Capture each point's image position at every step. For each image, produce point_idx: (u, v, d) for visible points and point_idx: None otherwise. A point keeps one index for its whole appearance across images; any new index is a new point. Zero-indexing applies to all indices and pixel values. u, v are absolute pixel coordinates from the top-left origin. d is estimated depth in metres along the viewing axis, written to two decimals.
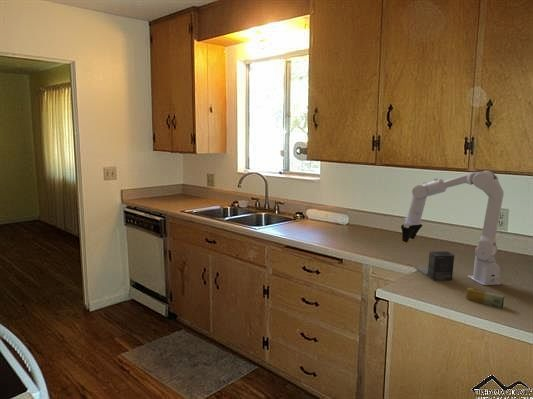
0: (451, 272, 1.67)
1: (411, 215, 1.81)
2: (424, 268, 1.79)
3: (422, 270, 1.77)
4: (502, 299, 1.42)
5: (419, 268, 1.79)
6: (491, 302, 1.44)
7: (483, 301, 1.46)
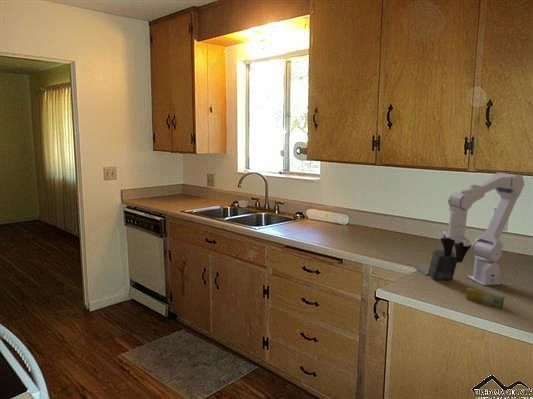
0: (452, 272, 1.66)
1: (459, 230, 1.55)
2: (424, 268, 1.79)
3: (422, 270, 1.77)
4: (502, 299, 1.42)
5: (419, 268, 1.79)
6: (491, 302, 1.44)
7: (483, 301, 1.46)
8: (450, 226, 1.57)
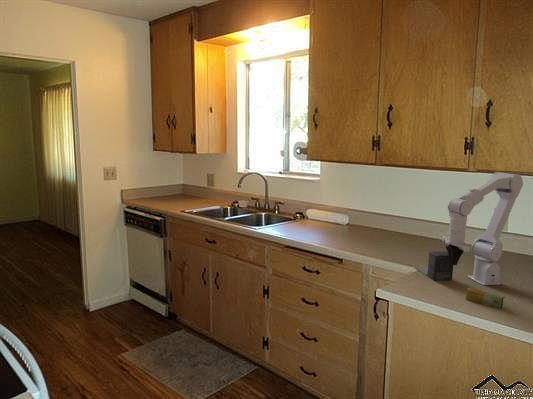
0: (451, 272, 1.67)
1: (459, 236, 1.56)
2: (424, 268, 1.79)
3: (422, 270, 1.77)
4: (501, 300, 1.41)
5: (419, 268, 1.79)
6: (491, 302, 1.44)
7: (482, 301, 1.45)
8: (450, 232, 1.58)
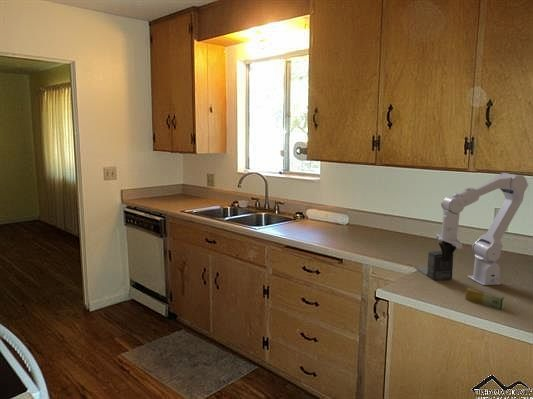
0: (450, 271, 1.67)
1: (452, 233, 1.60)
2: (424, 268, 1.79)
3: (422, 270, 1.77)
4: (501, 300, 1.41)
5: (419, 268, 1.79)
6: (490, 303, 1.43)
7: (482, 302, 1.45)
8: (443, 229, 1.62)
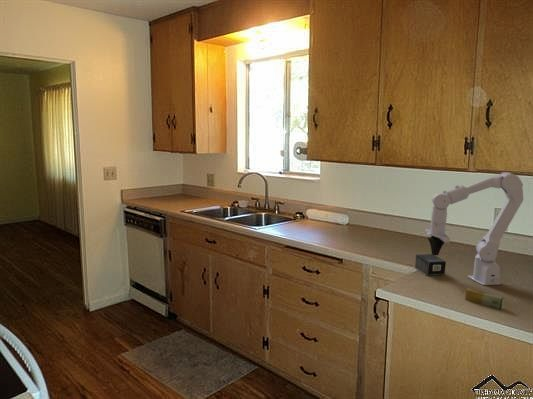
0: (439, 259, 1.75)
1: (440, 228, 1.68)
2: None
3: None
4: (500, 300, 1.41)
5: None
6: (490, 303, 1.43)
7: (482, 302, 1.45)
8: (432, 224, 1.70)
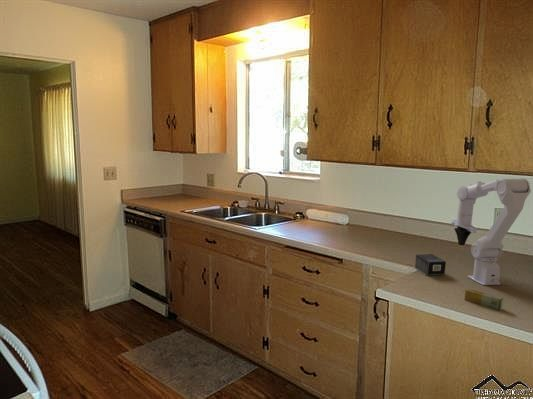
0: (439, 259, 1.75)
1: (467, 219, 1.77)
2: None
3: None
4: (499, 301, 1.40)
5: None
6: (489, 304, 1.43)
7: (481, 302, 1.45)
8: (459, 216, 1.79)
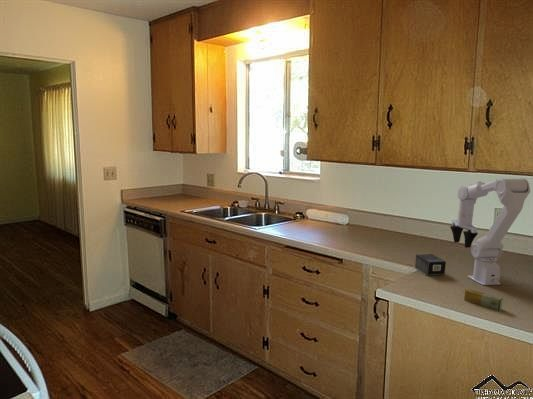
0: (439, 259, 1.75)
1: (467, 219, 1.77)
2: None
3: None
4: (499, 301, 1.40)
5: None
6: (488, 304, 1.42)
7: (480, 303, 1.44)
8: (459, 215, 1.79)
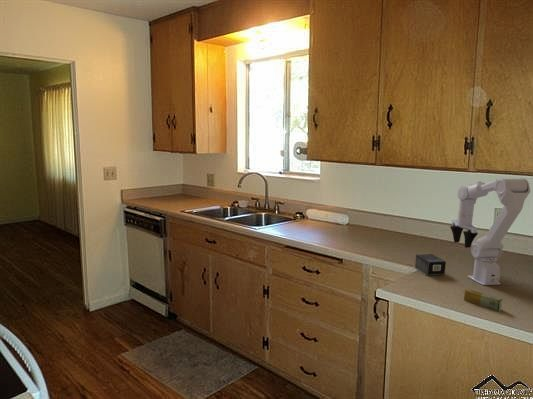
0: (439, 259, 1.75)
1: (467, 219, 1.77)
2: None
3: None
4: (498, 302, 1.40)
5: None
6: (488, 304, 1.42)
7: (480, 303, 1.44)
8: (459, 215, 1.79)
